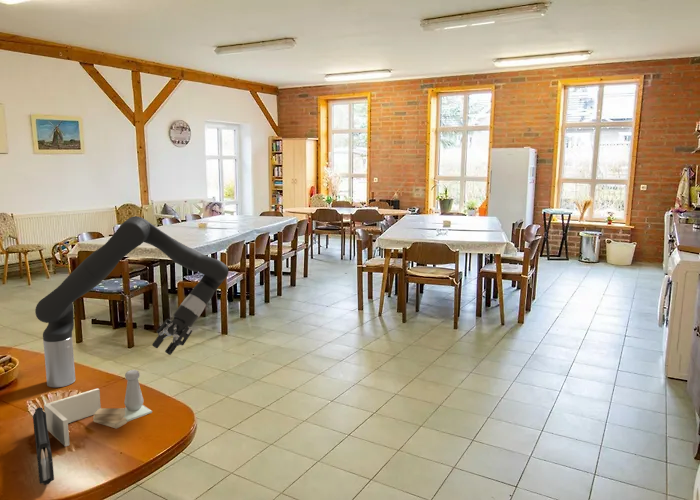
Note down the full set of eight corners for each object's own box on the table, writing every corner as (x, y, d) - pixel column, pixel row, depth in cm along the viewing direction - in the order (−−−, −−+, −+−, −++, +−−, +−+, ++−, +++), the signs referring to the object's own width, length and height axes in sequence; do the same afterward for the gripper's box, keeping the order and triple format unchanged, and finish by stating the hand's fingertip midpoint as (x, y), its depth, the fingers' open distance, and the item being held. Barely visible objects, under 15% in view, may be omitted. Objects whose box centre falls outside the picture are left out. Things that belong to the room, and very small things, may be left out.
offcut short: (94, 420, 162) (94, 413, 162) (99, 414, 166) (99, 408, 165) (120, 420, 162) (120, 413, 162) (125, 414, 166) (124, 408, 166)
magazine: (31, 406, 155) (33, 420, 130) (44, 404, 156) (48, 416, 131) (37, 465, 153) (40, 490, 128) (50, 462, 155) (55, 486, 130)
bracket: (46, 428, 160) (44, 404, 158) (99, 410, 171) (97, 388, 170) (65, 446, 150) (63, 420, 149) (120, 426, 162) (118, 402, 160)
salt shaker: (139, 402, 176) (137, 366, 174) (146, 408, 172) (144, 371, 170) (121, 408, 172) (119, 371, 170) (128, 414, 168) (126, 376, 166)
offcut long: (93, 423, 165) (93, 416, 164) (104, 417, 168) (103, 411, 168) (116, 430, 161) (116, 423, 160) (126, 424, 164) (126, 418, 164)
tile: (114, 413, 170) (114, 411, 170) (139, 404, 176) (139, 402, 176) (127, 421, 165) (126, 420, 165) (152, 412, 171) (152, 410, 171)
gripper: (171, 300, 184) (142, 339, 177) (194, 308, 175) (164, 350, 168) (185, 311, 189) (157, 350, 182) (208, 320, 179) (179, 361, 173)
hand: (160, 350), depth 175 cm, fingers open, 8 cm apart
